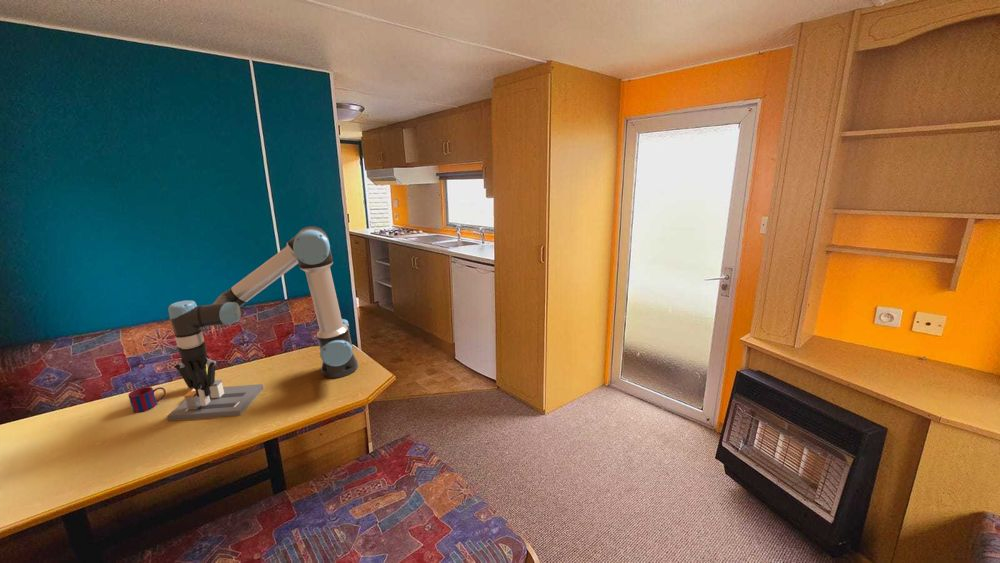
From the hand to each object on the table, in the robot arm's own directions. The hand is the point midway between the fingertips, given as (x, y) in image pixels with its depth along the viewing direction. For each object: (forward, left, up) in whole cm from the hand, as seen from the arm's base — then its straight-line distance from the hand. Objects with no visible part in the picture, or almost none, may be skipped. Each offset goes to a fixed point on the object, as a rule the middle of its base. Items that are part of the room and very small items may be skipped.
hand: (206, 403), depth 141 cm
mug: (+24, -7, -4) cm, 25 cm away
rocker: (+8, -11, -2) cm, 14 cm away
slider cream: (0, -7, -1) cm, 7 cm away
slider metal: (+4, 0, -1) cm, 4 cm away
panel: (-1, -5, -4) cm, 6 cm away
